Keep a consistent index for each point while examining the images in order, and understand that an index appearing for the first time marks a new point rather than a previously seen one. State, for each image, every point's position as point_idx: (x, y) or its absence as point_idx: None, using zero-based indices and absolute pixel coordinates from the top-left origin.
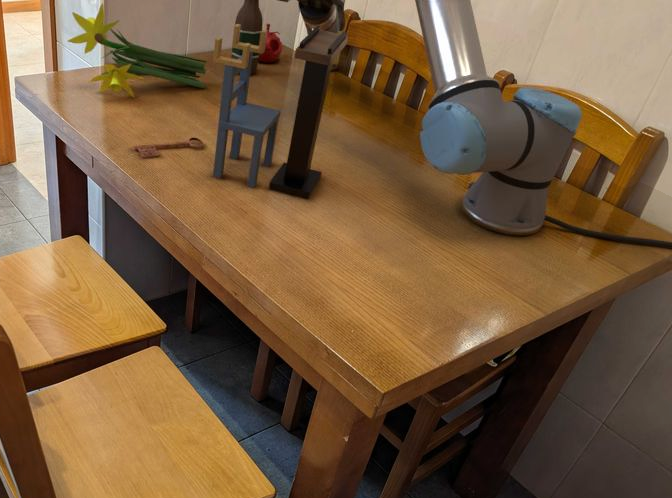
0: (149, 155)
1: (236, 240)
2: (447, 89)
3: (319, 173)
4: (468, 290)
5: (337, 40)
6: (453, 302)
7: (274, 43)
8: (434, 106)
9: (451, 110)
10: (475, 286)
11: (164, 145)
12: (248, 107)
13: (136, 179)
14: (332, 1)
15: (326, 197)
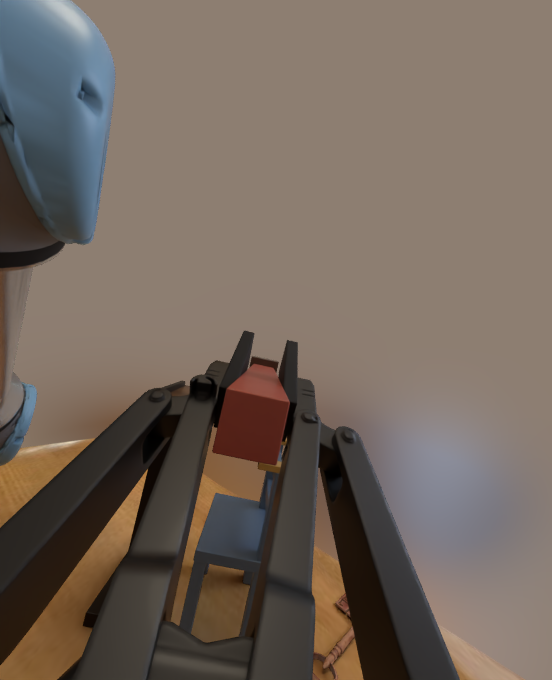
0: (343, 597)
1: (207, 492)
2: (21, 383)
3: (93, 604)
4: (21, 467)
5: (171, 385)
6: (49, 460)
7: None
8: (35, 401)
9: (35, 388)
10: (8, 470)
11: (349, 630)
12: (248, 544)
13: (318, 549)
14: (27, 625)
15: (97, 569)
